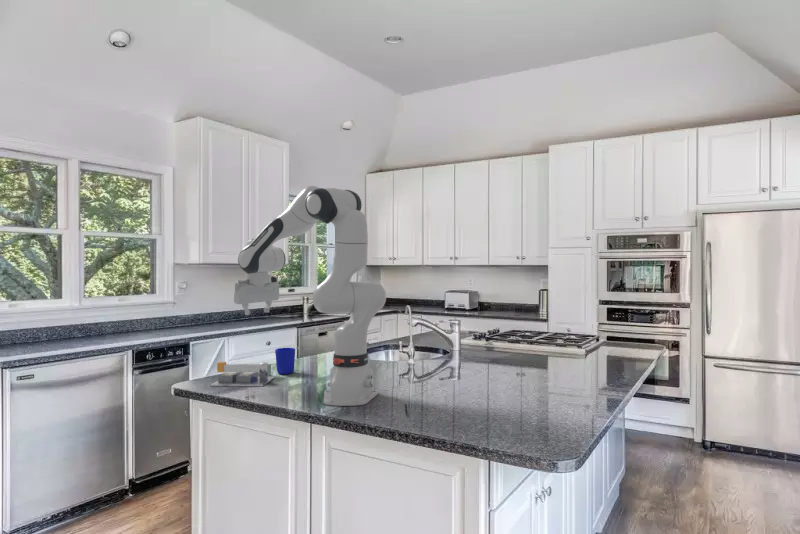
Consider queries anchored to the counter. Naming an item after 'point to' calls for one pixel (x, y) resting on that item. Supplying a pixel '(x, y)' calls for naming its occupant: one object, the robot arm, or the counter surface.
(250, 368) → the swing arm
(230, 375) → the chassis plate
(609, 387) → the counter surface
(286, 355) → the mug
